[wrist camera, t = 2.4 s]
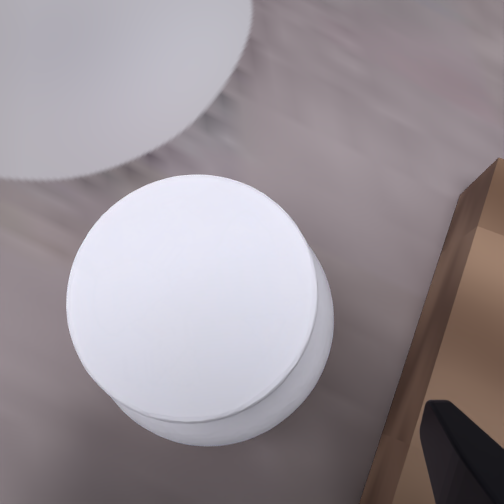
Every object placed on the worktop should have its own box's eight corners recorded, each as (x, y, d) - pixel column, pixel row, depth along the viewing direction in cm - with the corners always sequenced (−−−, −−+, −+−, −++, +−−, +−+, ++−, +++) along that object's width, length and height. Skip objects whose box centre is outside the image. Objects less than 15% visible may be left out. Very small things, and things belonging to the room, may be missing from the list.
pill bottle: (169, 436, 18) (28, 514, 7) (148, 287, 20) (10, 172, 9) (321, 403, 18) (405, 431, 7) (287, 259, 20) (315, 112, 9)
